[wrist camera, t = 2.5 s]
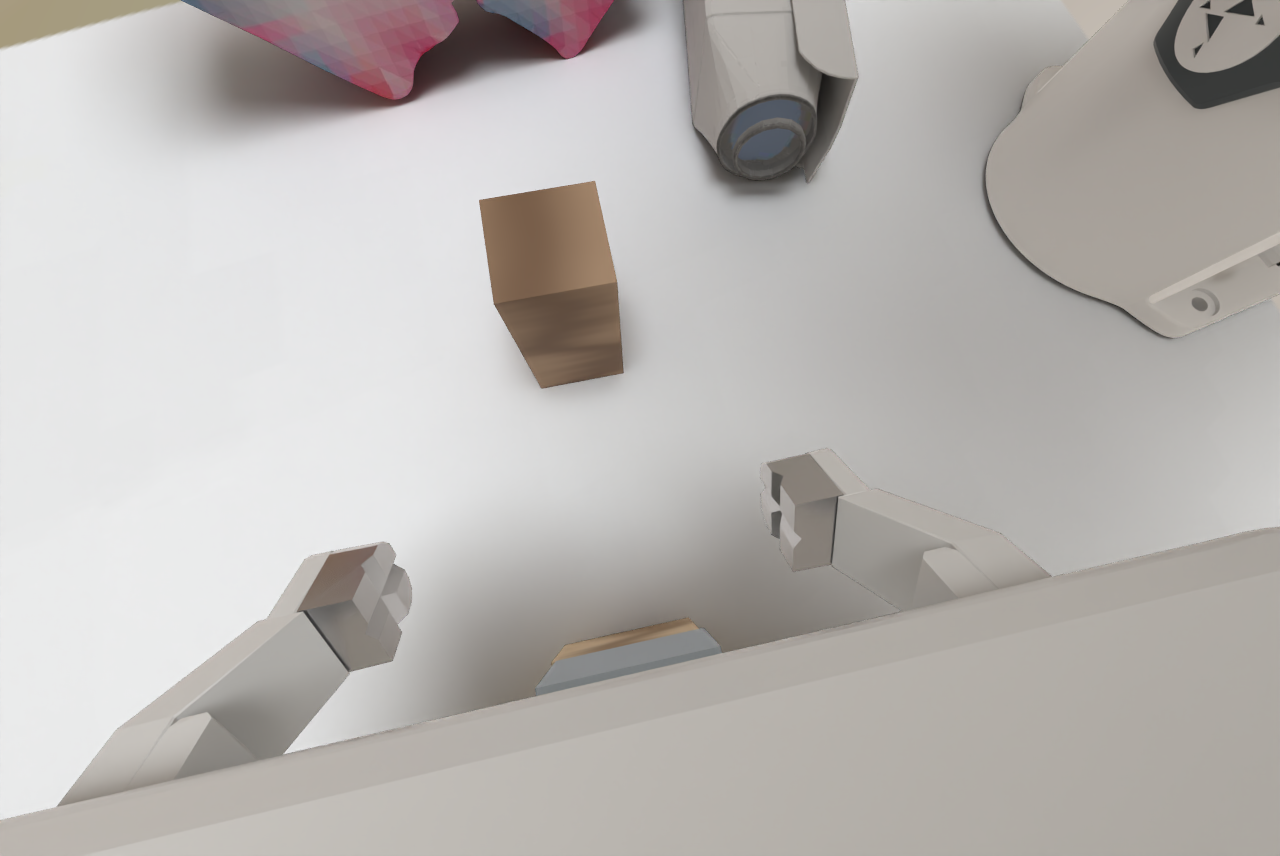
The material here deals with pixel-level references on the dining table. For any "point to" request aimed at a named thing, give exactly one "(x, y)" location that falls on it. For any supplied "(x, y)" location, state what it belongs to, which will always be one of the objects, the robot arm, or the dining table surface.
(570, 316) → the walnut pillar
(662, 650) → the slate block
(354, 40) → the sculpture
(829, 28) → the security camera
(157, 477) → the dining table surface
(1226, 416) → the dining table surface
